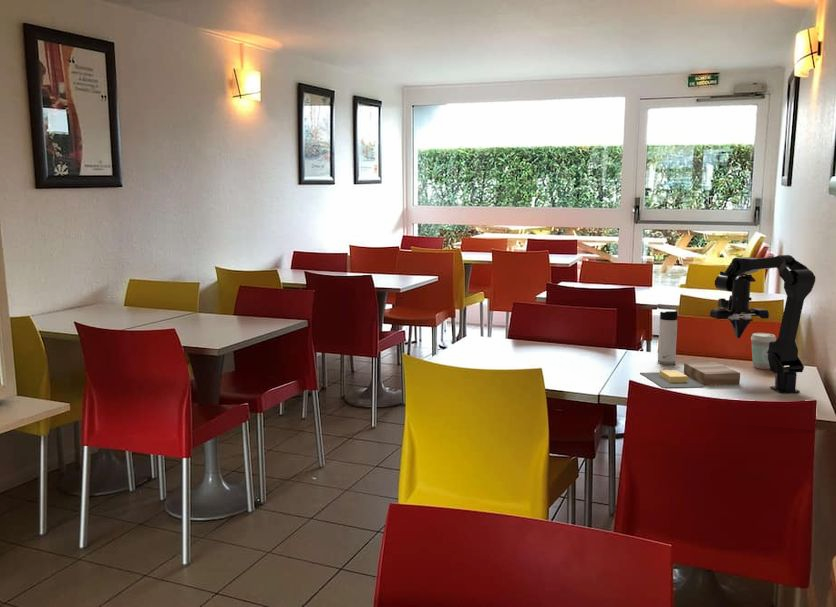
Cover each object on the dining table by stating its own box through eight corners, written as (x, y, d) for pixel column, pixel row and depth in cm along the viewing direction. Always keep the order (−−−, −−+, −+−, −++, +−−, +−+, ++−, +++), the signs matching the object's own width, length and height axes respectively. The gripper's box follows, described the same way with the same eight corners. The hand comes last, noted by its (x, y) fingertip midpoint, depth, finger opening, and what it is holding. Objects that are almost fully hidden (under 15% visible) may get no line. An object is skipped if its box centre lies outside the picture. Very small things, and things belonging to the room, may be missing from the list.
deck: (739, 384, 247) (740, 373, 246) (704, 385, 246) (705, 373, 245) (716, 373, 262) (717, 362, 262) (683, 374, 261) (684, 362, 261)
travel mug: (665, 365, 274) (668, 312, 271) (654, 361, 280) (656, 309, 277) (679, 364, 276) (682, 311, 273) (667, 360, 282) (670, 308, 279)
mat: (704, 387, 244) (704, 386, 244) (662, 388, 243) (663, 387, 242) (678, 372, 263) (678, 371, 263) (640, 373, 262) (640, 372, 262)
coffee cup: (758, 370, 267) (760, 337, 265) (743, 364, 275) (745, 333, 273) (779, 369, 269) (782, 336, 267) (764, 363, 277) (766, 332, 275)
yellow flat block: (670, 376, 248) (669, 382, 249) (687, 376, 249) (687, 382, 249) (659, 370, 257) (659, 375, 258) (676, 370, 258) (676, 375, 258)
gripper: (754, 290, 265) (751, 333, 268) (704, 290, 264) (701, 334, 266) (771, 294, 254) (768, 339, 257) (719, 295, 253) (716, 340, 255)
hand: (737, 338), depth 259 cm, fingers closed
